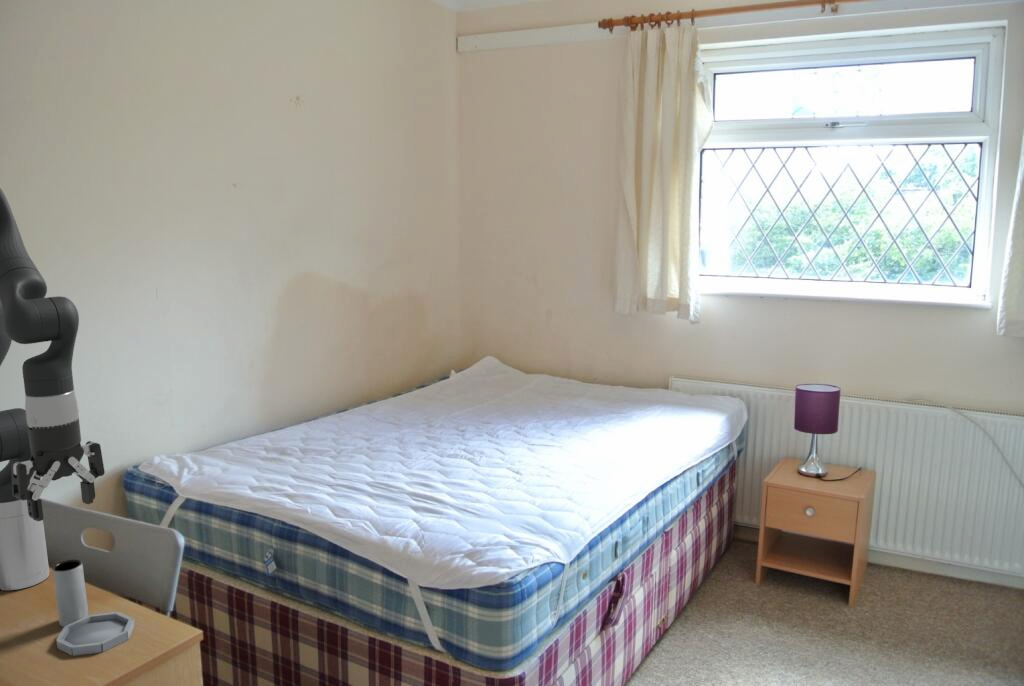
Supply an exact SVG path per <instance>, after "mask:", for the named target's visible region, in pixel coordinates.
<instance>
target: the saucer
mask: <svg viewBox="0 0 1024 686" xmlns="http://www.w3.org/2000/svg"><path fill="white" fill-rule="evenodd" d="M134 628H135V619H134V618H133V617H131V616H129V615H127V614H125V613H122V612H120V611H112V612H104V613H95V614H88V616H87V617H84V618H82V619H80V620H78V621H75V622H73V623H71V624H69V625H66V626H65V627H62V629H61V631H60V633H59V635H58V636H57V638H56V640H55V641H56V647H57V649H59V650H60V651H62V652H64V653H66V654H67V655H70V656H71V657H75V656H83V655H92V654H99V653H104V652H106V651H108V650H110V649H112V648H114V647H116V646H118V645H121V644H122V643H124V642H126V641H128V640H129V639H130V637H131V634H132V632H133V630H134Z"/></svg>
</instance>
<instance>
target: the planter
mask: <svg viewBox="0 0 1024 686" xmlns="http://www.w3.org/2000/svg"><path fill="white" fill-rule="evenodd" d="M51 569H52V576H53V585H54V593H55V601H56V609H57V617H58V623H59V626H60V627H62V628H64V627H65V626H66V625H69V624H71V623H73V622H75V621H78V620H80V619H82V618H84V617H87V616H89V608H88V599H87V592H86V582H85V576H84V575H85V573H84V566H83V561H82V560H80V559H68V560H63V561H60V562H57V563H56V564H54V566H52V568H51Z"/></svg>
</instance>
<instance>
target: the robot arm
mask: <svg viewBox="0 0 1024 686" xmlns="http://www.w3.org/2000/svg"><path fill="white" fill-rule="evenodd" d="M25 246H26V245H25V244H24V242H23V238H22V235H21V233H20V230H19V228H18V225H17V222H16V219H15V217H14V214H13V211H12V208H11V206H10V204H9V201H8V198H7V197H6V195H5V193H4V192H3V189H2V188H1V187H0V367H1V366H2V364H3V363H4V361H5V359H6V357H7V354H8V353H9V350H10V348H11V345H12V341H13V342H15V343H18V344H21V345H30V344H31V345H32V344H38V343H44V342H50V343H49V346H48V348H47V349H46V350H45V351H44V352H42V353H40V354H37V355H35V356H31V357H30V358H28V359H25V361H24V362H23V364H22V378H23V386H24V393H25V398H24V399H25V400H24V401H25V404H24V406H25V407H24V408H21V407H20V408H19V407H17V408H10V409H4V410H0V463H1V462H6V461H8V463H7V464H6V465H5V467H3V469H1V470H0V589H1V590H0V591H14V590H15V591H18V590H21V589H26V588H29V587H33V586H36V585H37V584H40V583H41V582H44V581H45V580H46V579H47V578H49V576H50V567H49V559H48V551H47V542H46V535H45V526H44V511H43V502H42V499H41V495H42V493H43V491H44V490H45V489H46V488H47V487H48V486H49V484H50V483H51V482H52V481H57V480H60V479H61V478H63V477H64V478H65V477H71V476H72V475H73V474H74V475H75V476H76V477H78V478H79V479H80V480H81V481H80V483H79V486H80V492H81V500H82V502H83V504H85V505H91V504H93V503H94V500H95V498H96V490H95V481H96V479H97V478H99V477H102V476H104V475H105V465H104V459H103V453H102V448H101V444H100V443H98V442H95V441H90V440H89V441H87V442H86V443H85V444H84V445H82V444H81V442H82V435H81V425H80V418H79V408H78V407H79V406H78V400H77V398H76V393H75V388H74V379H73V366H72V365H73V359H74V358H73V356H74V351H75V345H76V344H75V343H76V341H77V340H76V339H77V335H78V330H79V326H80V325H79V324H80V316H79V315H80V314H79V311H78V309H77V307H76V305H75V304H74V302H73V301H71V299H69V298H68V297H66V296H49V297H46V295H47V292H48V287H47V283H46V281H45V279H44V278H43V276H42V274H41V273H40V271H39V269H38V268H37V266H36V264H35V263H34V262H33V260H32V259H31V257H30V255H29V253H28V251H27V249H26V247H25ZM84 455H85V456H87V461H88V467H89V469H87V468H86V467H85V466H84V465H83V464H82V463H81V460H82V458H83V456H84Z"/></svg>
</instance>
